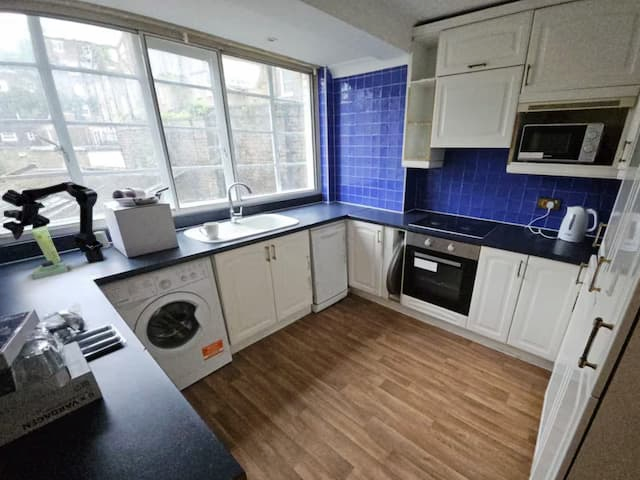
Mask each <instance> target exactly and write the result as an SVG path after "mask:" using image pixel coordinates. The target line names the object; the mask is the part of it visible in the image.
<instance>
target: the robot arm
mask: <svg viewBox="0 0 640 480" xmlns="http://www.w3.org/2000/svg"><path fill="white" fill-rule="evenodd" d="M64 192H66V193H68V195H70V196H71V197H72V198H74V199H75V202H76V203H77V204H78V206H79V232H78V233H74V235H73V237H74V238H73V239H74V240H73V243H74V244H75V246H76V247H77V248H78V249H79V250H80V251H81V253H85V254H84V255H85V258H86V261H87V262H88V264H93V263H97V262H103V261H105V260H106V256H105V254H104V252H103V249H101V248H102V247H103V243H101V242H100V241H98V240H96V236H95V235H94V233H95V232H94V231H93V227H94V226H93V223H94V222H93V221H94V214H93V213H94V206H95V205H96V203H97V201H98V198H99V195H98V193H97V192H96V190H94V189H93V188H89V187H87V186H84V185H80V184H78V183H75V182H73V181H64V182H61V183H57V184H53V185H49V186H46V187H35V188H29V189H22V191H21V192H18V191H15V190H14V189H7V191H6V192H5V193H4V194H2V196H1V200H2V201H3V202H5V203H8V204H9V205H12V206H15V207H17V208H20V207H21V209H10V210H9V209H7V210H4V211H3V217H5V218H9V219H15V221H14V220H12V221H11V220H10V221H8V222H7V221H6V222H3V223H2V228H3V229H6V230H8V231H10V233H12V236H13V238H14V240H15V241H18V240H19V239H20V238H21V236H22V235H23V234H24V233H25V231H24V230H25V227H29V226H31V227H32V228H31V229H36V228H39V227H43V226H48V225H50V223H51V220H50V218H48V217H46V216H44V215H41V214H39V211H40V209H44V208H46V205H45V204H43V203H42V202H41V201H42V200H45V199H47V198H48V197H49V196H52V195H55V194H60V193H64ZM38 201H40V202H38ZM16 221H17V222H16Z"/></svg>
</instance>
